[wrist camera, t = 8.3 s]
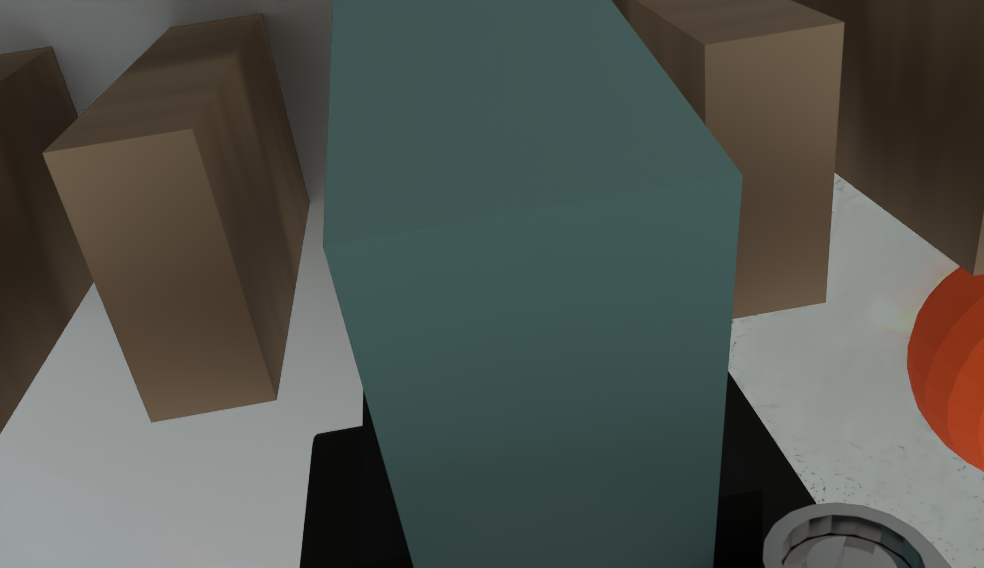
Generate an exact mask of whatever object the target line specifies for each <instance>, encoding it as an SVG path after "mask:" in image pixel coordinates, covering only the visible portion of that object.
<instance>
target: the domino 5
mask: <svg viewBox="0 0 984 568" xmlns="http://www.w3.org/2000/svg"><path fill="white" fill-rule="evenodd" d="M791 1H794V2H796V3H799V4H801V5H804V6H806V7H808V8H811V9H813V10H816V11H818V12H821V13H823V14H825V15H828V16H830V17H833V18H835V19H838V20H840V21H842V22H845V23H844V38H843V53H842V67H841V82H840V97H839V112H838V127H837V141H836V156H835V171H834V172H835V173H836V174H838V175H839V176H840V177H842V178H843V179H844V180H846V181H847V182H848V183H850V184H851V185H852V186H854V187H855V188H856V189H858V190H859V191H860V192H862V193H863V194H864V195H866V196H867V197H868V198H870V199H871V200H872V201H874V202H875V203H876V204H878V205H879V206H880V207H882V208H883V209H884V210H886V211H887V212H888V213H890V214H891V215H892V216H894V217H895V218H896V219H898V220H899V221H900V222H902V223H903V224H904V225H906V226H907V227H908V228H910V229H911V230H912V231H914V232H915V233H916V234H918V235H919V236H920V237H922V238H923V239H924V240H926V241H927V242H928V243H930V244H931V245H932V246H934V247H935V248H936V249H938V250H939V251H941V252H942V253H943V254H945V255H946V256H947V257H949V258H950V259H951V260H953V261H954V262H955V263H957V264H958V265H959V266H961V267H962V268H963V269H965V270H966V271H967V272H969V273H970V274H971V275H973V276H976V275H981V274H984V0H791Z"/></svg>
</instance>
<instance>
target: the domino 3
mask: <svg viewBox="0 0 984 568" xmlns="http://www.w3.org/2000/svg"><path fill="white" fill-rule="evenodd" d="M742 179H743V175H742V173H741V172H740V171H739V169H738V168H737V167H736V165H735V164H734V163H733V161H732V160H731V159H730V157H729V156H728V155H727V153H726V152H725V151H724V149H723V148H722V147H721V145H720V144H719V143H718V141H717V140H716V139H715V137H714V136H713V135H712V133H711V132H710V131H709V129H708V128H707V127H706V125H705V124H704V123H703V121H702V120H701V119H700V117H699V116H698V115H697V113H696V112H695V111H694V109H693V108H692V107H691V105H690V104H689V103H688V101H687V100H686V99H685V97H684V96H683V95H682V93H681V92H680V91H679V89H678V88H677V87H676V85H675V84H674V83H673V81H672V80H671V79H670V77H669V76H668V75H667V73H666V72H665V71H664V69H663V68H662V67H661V65H660V64H659V63H658V61H657V60H656V59H655V57H654V56H653V55H652V53H651V52H650V51H649V49H648V48H647V47H646V45H645V44H644V43H643V41H642V40H641V39H640V37H639V36H638V35H637V34H636V32H635V31H634V30H633V28H632V27H631V26H630V24H629V23H628V22H627V20H626V19H625V18H624V16H623V15H622V14H621V12H620V11H619V10H618V8H617V7H616V6H615V4H614V3H613V2H612V0H333V15H332V39H331V63H330V88H329V112H328V136H327V161H326V185H325V209H324V234H323V248H324V251H325V255H326V258H327V262H328V265H329V269H330V273H331V276H332V280H333V283H334V287H335V290H336V294H337V297H338V301H339V304H340V308H341V311H342V315H343V319H344V322H345V326H346V329H347V333H348V336H349V340H350V343H351V347H352V350H353V354H354V358H355V361H356V365H357V368H358V372H359V375H360V379H361V382H362V386H363V389H364V393H365V396H366V400H367V404H368V407H369V411H370V414H371V418H372V421H373V425H374V428H375V432H376V435H377V439H378V443H379V446H380V450H381V453H382V457H383V460H384V464H385V467H386V471H387V474H388V478H389V481H390V485H391V489H392V492H393V496H394V499H395V503H396V506H397V510H398V513H399V517H400V520H401V524H402V527H403V531H404V535H405V538H406V542H407V545H408V549H409V552H410V556H411V559H412V563H413V566H414V568H713V561H714V548H715V535H716V522H717V508H718V495H719V482H720V469H721V456H722V443H723V429H724V416H725V403H726V390H727V377H728V363H729V350H730V337H731V324H732V311H733V298H734V284H735V271H736V258H737V245H738V232H739V219H740V205H741V192H742Z"/></svg>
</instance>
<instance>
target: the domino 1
mask: <svg viewBox="0 0 984 568" xmlns="http://www.w3.org/2000/svg"><path fill="white" fill-rule="evenodd" d="M77 118H78V116H77V113H76V111H75V108H74V105H73V103H72V100H71V97H70V95H69V92H68V89H67V87H66V84H65V81H64V79H63V76H62V73H61V71H60V68H59V65H58V63H57V60H56V57H55V55H54V52H53V49H52V47H46V48H39V49H33V50H27V51H20V52H14V53H8V54H1V55H0V433H1V432H2V430H3V428H4V427H5V425H6V424H7V422H8V420H9V419H10V417H11V415H12V414H13V412H14V411H15V409H16V407H17V406H18V404H19V402H20V401H21V399H22V398H23V396H24V394H25V393H26V391H27V389H28V388H29V386H30V385H31V383H32V381H33V380H34V378H35V376H36V375H37V373H38V372H39V370H40V368H41V367H42V365H43V363H44V362H45V360H46V358H47V357H48V355H49V354H50V352H51V350H52V349H53V347H54V345H55V344H56V342H57V341H58V339H59V337H60V336H61V334H62V332H63V331H64V329H65V328H66V326H67V324H68V323H69V321H70V319H71V318H72V316H73V315H74V313H75V311H76V310H77V308H78V306H79V305H80V303H81V302H82V300H83V298H84V297H85V295H86V293H87V292H88V290H89V289H90V287H91V285H92V284H93V282H94V280H93V277H92V275H91V272H90V270H89V268H88V265H87V263H86V260H85V258H84V255H83V253H82V250H81V248H80V245H79V243H78V240H77V238H76V235H75V233H74V230H73V228H72V226H71V223H70V221H69V218H68V216H67V213H66V211H65V208H64V206H63V203H62V201H61V198H60V196H59V193H58V191H57V188H56V186H55V183H54V181H53V179H52V176H51V174H50V171H49V169H48V166H47V164H46V161H45V159H44V156H43V154H42V153H43V152H44V151H45V150H46V149H47V148H48V147H49V146H50V145H51V144H52V143H53V142H54V141H55V140H56V139H57V138H58V137H59V136H60V135H61V134H62V133H63V132H64V131H65V130H66V129H67V128H68V127H69V126H70V125H71V124H72V123H73V122H74V121H75V120H76V119H77Z"/></svg>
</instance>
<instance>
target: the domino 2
mask: <svg viewBox="0 0 984 568" xmlns="http://www.w3.org/2000/svg"><path fill="white" fill-rule="evenodd" d="M42 154H43V156H44V159H45V161H46V164H47V166H48V169H49V171H50V174H51V176H52V179H53V181H54V183H55V186H56V188H57V191H58V193H59V196H60V198H61V201H62V203H63V206H64V208H65V211H66V213H67V216H68V218H69V221H70V223H71V226H72V228H73V230H74V233H75V235H76V238H77V240H78V243H79V245H80V248H81V250H82V253H83V255H84V258H85V260H86V263H87V265H88V268H89V270H90V272H91V275H92V277H93V280H94V282H95V285H96V287H97V290H98V292H99V295H100V297H101V300H102V302H103V305H104V307H105V310H106V312H107V314H108V317H109V319H110V322H111V324H112V327H113V329H114V332H115V334H116V337H117V339H118V342H119V344H120V347H121V349H122V352H123V354H124V356H125V359H126V361H127V364H128V366H129V369H130V371H131V374H132V376H133V379H134V381H135V384H136V386H137V389H138V391H139V394H140V396H141V399H142V401H143V403H144V406H145V408H146V411H147V413H148V416H149V418H150V421H151V422H157V421H162V420H168V419H173V418H179V417H185V416H190V415H196V414H201V413H207V412H213V411H218V410H224V409H229V408H235V407H241V406H246V405H252V404H257V403H263V402H269V401H274V400H277V394H278V389H279V383H280V377H281V371H282V365H283V359H284V353H285V347H286V341H287V335H288V329H289V323H290V317H291V311H292V305H293V299H294V293H295V287H296V281H297V275H298V270H299V264H300V258H301V252H302V246H303V240H304V234H305V228H306V222H307V216H308V210H309V204H310V203H309V199H308V196H307V192H306V188H305V184H304V180H303V176H302V172H301V168H300V164H299V160H298V156H297V152H296V148H295V144H294V140H293V136H292V132H291V128H290V124H289V120H288V117H287V113H286V109H285V105H284V101H283V97H282V93H281V89H280V85H279V81H278V77H277V73H276V69H275V65H274V61H273V57H272V53H271V49H270V45H269V41H268V38H267V34H266V30H265V26H264V22H263V18H262V14H255V15H249V16H242V17H236V18H230V19H223V20H217V21H211V22H204V23H198V24H192V25H185V26H179V27H173V28H169V29H168V30H167V31H166V32H165V33H164V34H163V35H162V36H161V37H160V38H159V39H158V40H157V41H156V42H155V43H154V44H153V45H152V46H151V47H150V48H149V49H148V50H147V51H146V52H145V53H144V54H143V55H142V56H141V57H140V58H139V59H138V60H137V61H135V62H134V63H133V64H132V65H131V66H130V67H129V68H128V69H127V70H126V71H125V72H124V73H123V74H122V75H121V76H120V77H119V78H118V79H117V80H116V81H115V82H114V83H113V84H112V85H111V86H110V87H109V88H108V89H107V90H106V91H105V92H104V93H103V94H102V95H101V96H100V97H99V98H98V99H97V100H96V101H95V102H94V103H93V104H92V105H91V106H90V107H89V108H88V109H87V110H86V111H85V112H84V113H83V114H82V115H81V116H80V117H78V118H77V119H76V120H75V121H74V122H73V123H72V124H71V125H70V126H69V127H68V128H67V129H66V130H65V131H64V132H63V133H62V134H61V135H60V136H59V137H58V138H57V139H56V140H55V141H54V142H53V143H52V144H51V145H50V146H49V147H48V148H47V149H46V150H45V151H44V152H43V153H42Z"/></svg>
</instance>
